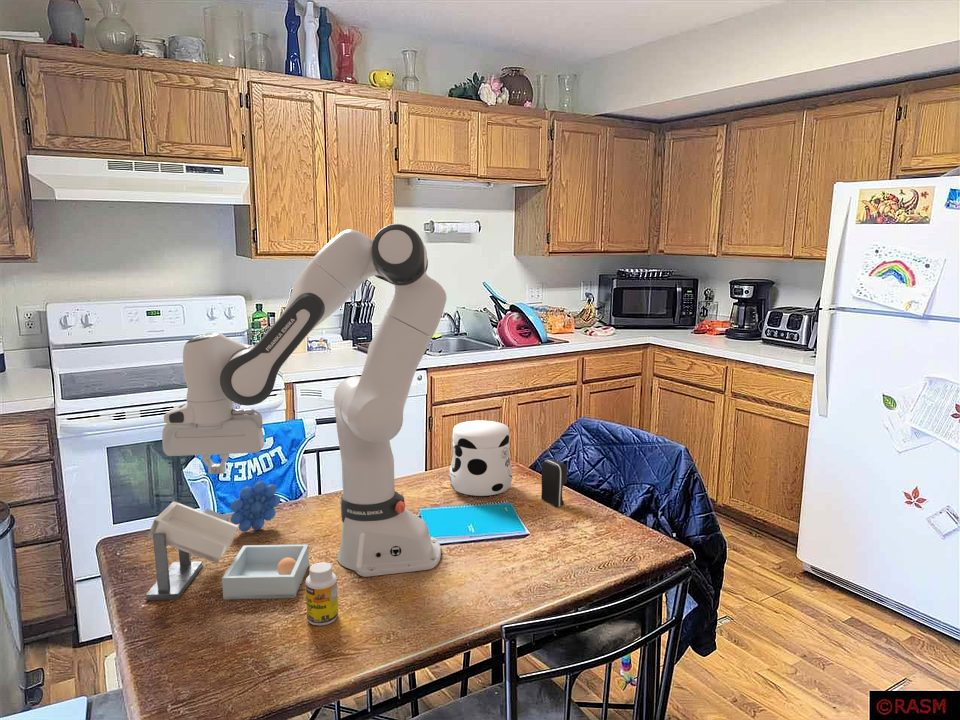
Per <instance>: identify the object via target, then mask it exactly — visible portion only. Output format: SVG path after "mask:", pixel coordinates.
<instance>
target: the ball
mask: <svg viewBox="0 0 960 720" xmlns="http://www.w3.org/2000/svg"><path fill="white" fill-rule="evenodd" d="M295 564H296V561H295V560H294V559H293V558H284V559H282V560H281V561H280V562H279V564H278V567H277V571H278V573H279V575H291V572H292V570H293V568H294V566H295Z"/></svg>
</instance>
